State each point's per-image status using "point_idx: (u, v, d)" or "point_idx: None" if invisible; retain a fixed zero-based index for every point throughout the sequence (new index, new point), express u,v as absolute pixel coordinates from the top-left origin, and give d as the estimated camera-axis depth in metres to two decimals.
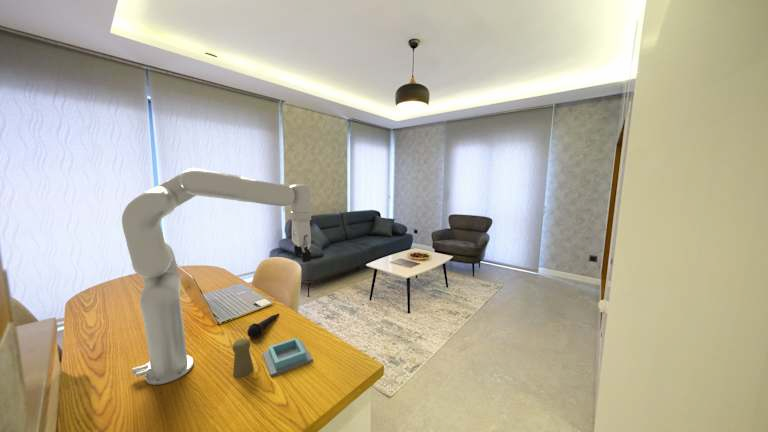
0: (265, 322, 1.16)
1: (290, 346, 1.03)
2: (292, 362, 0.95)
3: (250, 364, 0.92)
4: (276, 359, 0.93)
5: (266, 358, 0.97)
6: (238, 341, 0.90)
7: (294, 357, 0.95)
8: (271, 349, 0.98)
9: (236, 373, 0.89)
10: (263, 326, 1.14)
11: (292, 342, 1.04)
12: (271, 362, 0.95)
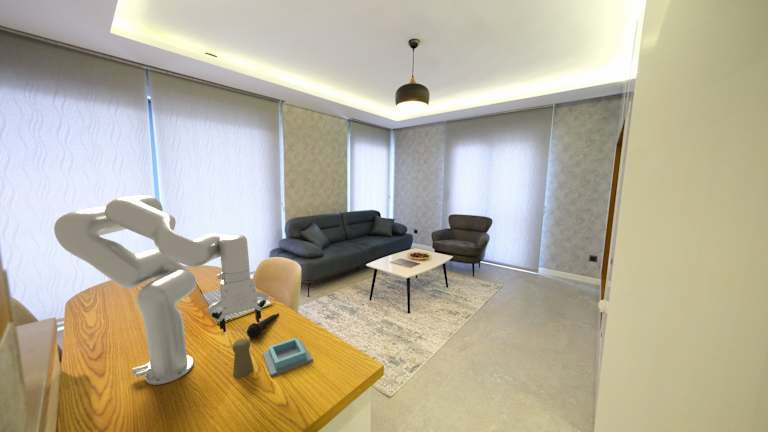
0: (265, 322, 1.16)
1: (290, 346, 1.03)
2: (292, 362, 0.95)
3: (250, 364, 0.92)
4: (276, 359, 0.93)
5: (266, 358, 0.97)
6: (238, 341, 0.90)
7: (294, 357, 0.95)
8: (271, 349, 0.98)
9: (236, 373, 0.89)
10: (263, 326, 1.14)
11: (292, 342, 1.04)
12: (271, 362, 0.95)
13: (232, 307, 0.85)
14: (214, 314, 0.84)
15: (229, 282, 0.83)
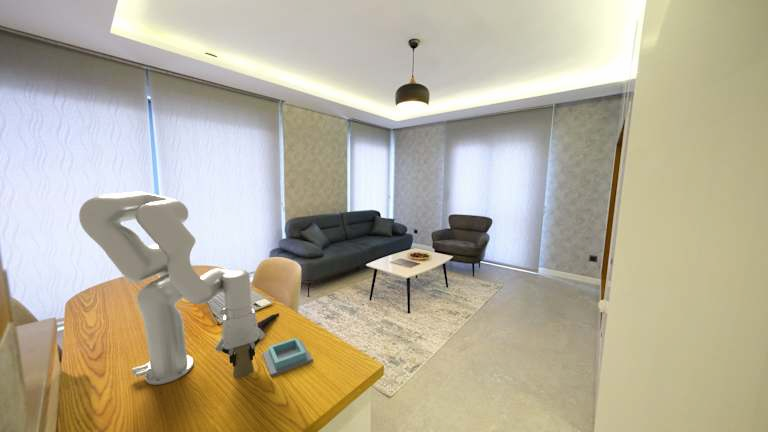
0: (264, 322, 1.16)
1: (290, 346, 1.03)
2: (292, 362, 0.95)
3: (250, 364, 0.92)
4: (276, 359, 0.93)
5: (266, 358, 0.97)
6: None
7: (294, 357, 0.95)
8: (271, 349, 0.98)
9: (236, 373, 0.89)
10: (262, 325, 1.14)
11: (292, 342, 1.04)
12: (271, 362, 0.95)
13: (234, 342, 0.87)
14: (224, 349, 0.87)
15: (231, 318, 0.85)
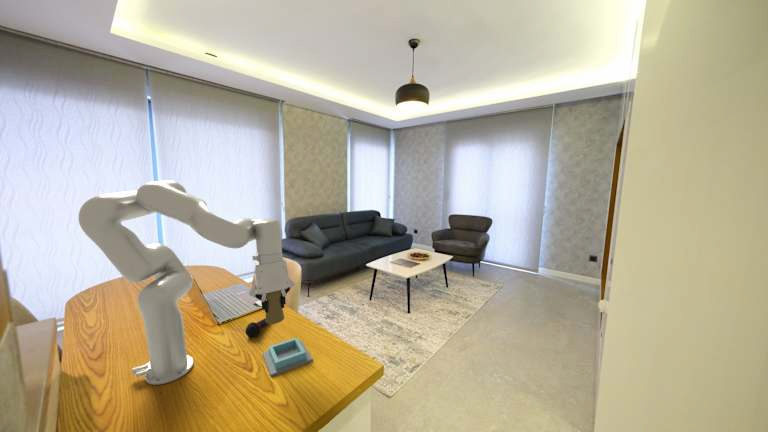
0: (264, 321, 1.17)
1: (290, 346, 1.03)
2: (292, 362, 0.95)
3: (281, 312, 0.94)
4: (276, 359, 0.93)
5: (266, 358, 0.97)
6: None
7: (294, 357, 0.95)
8: (271, 349, 0.98)
9: (268, 319, 0.92)
10: (261, 325, 1.14)
11: (292, 342, 1.04)
12: (271, 362, 0.95)
13: (266, 287, 0.89)
14: (257, 295, 0.90)
15: (264, 263, 0.87)
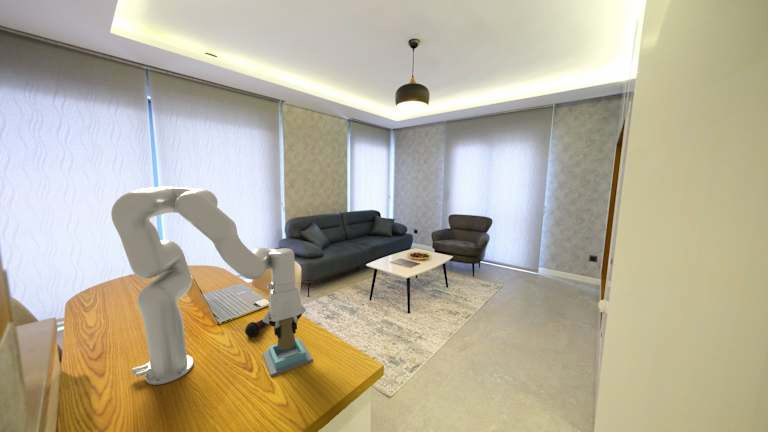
0: None
1: None
2: (292, 362, 0.95)
3: (293, 337, 0.98)
4: (276, 359, 0.93)
5: (266, 358, 0.97)
6: None
7: (294, 357, 0.95)
8: (271, 349, 0.98)
9: (281, 345, 0.95)
10: (261, 325, 1.15)
11: None
12: (271, 362, 0.95)
13: (280, 315, 0.93)
14: (271, 322, 0.93)
15: (279, 292, 0.91)
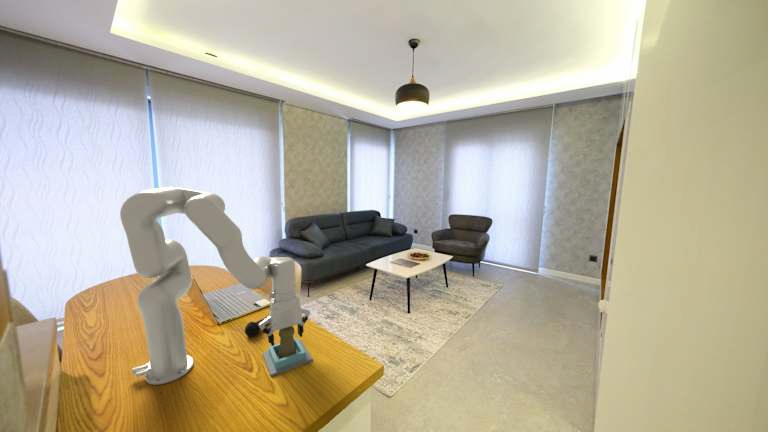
0: None
1: None
2: (292, 362, 0.95)
3: (294, 349, 0.98)
4: (276, 359, 0.93)
5: (266, 358, 0.97)
6: None
7: (294, 357, 0.95)
8: (271, 349, 0.98)
9: (282, 357, 0.96)
10: None
11: None
12: (271, 362, 0.95)
13: (281, 323, 0.93)
14: (265, 329, 0.92)
15: (279, 301, 0.92)
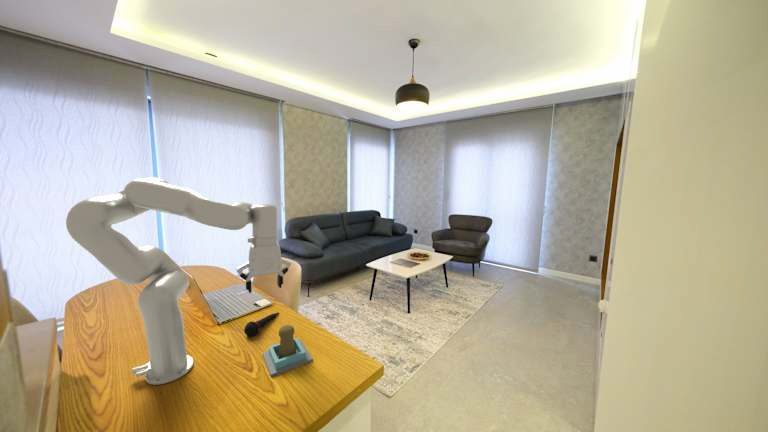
0: (263, 320, 1.17)
1: None
2: (292, 362, 0.95)
3: (294, 349, 0.98)
4: (276, 359, 0.93)
5: (266, 358, 0.97)
6: (284, 327, 0.97)
7: (294, 357, 0.95)
8: (271, 349, 0.98)
9: (282, 357, 0.96)
10: (260, 324, 1.15)
11: None
12: (271, 362, 0.95)
13: (259, 270, 0.92)
14: (242, 275, 0.91)
15: (258, 246, 0.90)
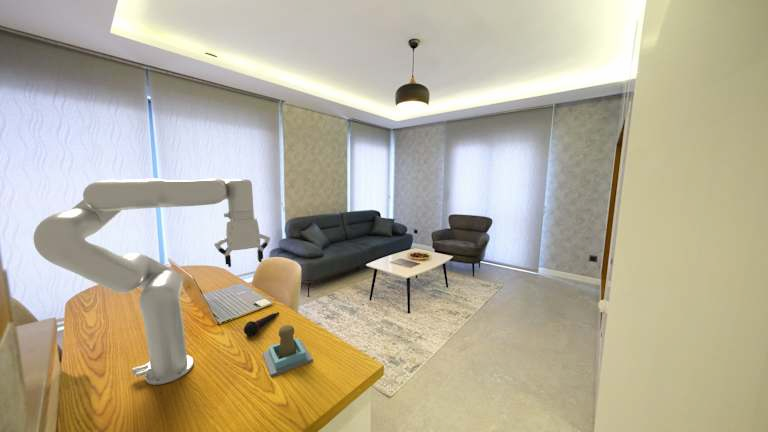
0: (263, 320, 1.17)
1: None
2: (292, 362, 0.95)
3: (294, 349, 0.98)
4: (276, 359, 0.93)
5: (266, 358, 0.97)
6: (284, 327, 0.97)
7: (294, 357, 0.95)
8: (271, 349, 0.98)
9: (282, 357, 0.96)
10: (260, 324, 1.15)
11: None
12: (271, 362, 0.95)
13: (237, 244, 0.93)
14: (221, 249, 0.92)
15: (235, 220, 0.91)
